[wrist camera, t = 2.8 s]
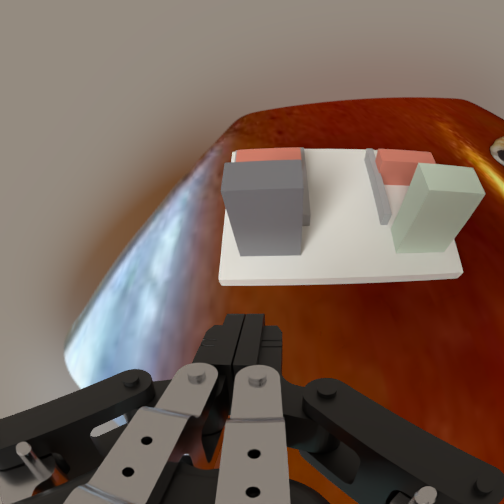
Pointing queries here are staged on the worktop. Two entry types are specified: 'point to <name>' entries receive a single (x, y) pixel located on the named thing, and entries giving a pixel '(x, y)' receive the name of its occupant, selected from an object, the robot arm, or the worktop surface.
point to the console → (342, 223)
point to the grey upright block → (265, 206)
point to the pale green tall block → (435, 207)
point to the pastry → (498, 150)
